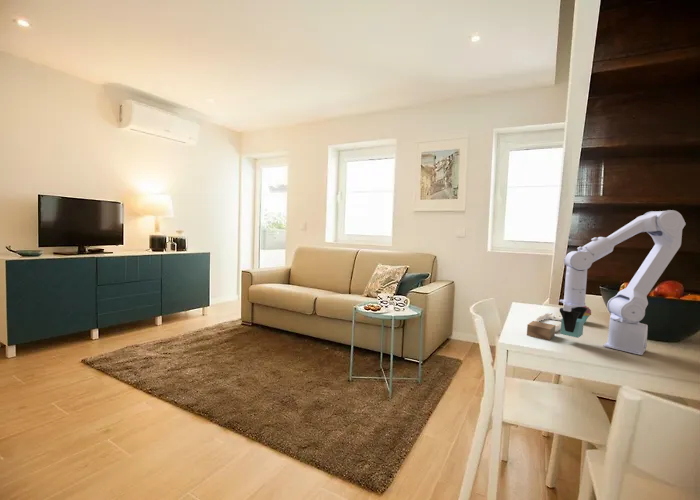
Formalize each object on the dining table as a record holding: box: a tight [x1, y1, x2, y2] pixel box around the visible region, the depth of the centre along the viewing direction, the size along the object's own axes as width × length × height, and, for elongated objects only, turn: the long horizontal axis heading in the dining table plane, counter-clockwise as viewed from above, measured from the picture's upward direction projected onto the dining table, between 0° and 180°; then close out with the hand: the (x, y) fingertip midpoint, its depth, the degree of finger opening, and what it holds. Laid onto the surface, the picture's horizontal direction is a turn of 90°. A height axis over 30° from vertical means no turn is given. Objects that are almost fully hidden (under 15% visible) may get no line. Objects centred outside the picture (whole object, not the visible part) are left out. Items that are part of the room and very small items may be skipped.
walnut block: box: [526, 320, 556, 341], centre depth 120 cm, size 7×7×4 cm
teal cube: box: [559, 318, 585, 339], centre depth 113 cm, size 5×5×5 cm
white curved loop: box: [534, 312, 563, 333], centre depth 134 cm, size 3×10×25 cm
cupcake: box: [582, 305, 592, 324], centre depth 139 cm, size 9×8×12 cm
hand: (571, 329), depth 113 cm, fingers closed on teal cube, 5 cm apart
